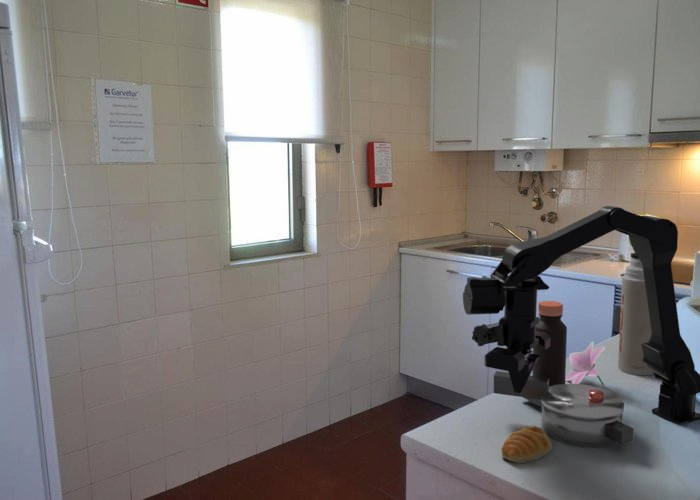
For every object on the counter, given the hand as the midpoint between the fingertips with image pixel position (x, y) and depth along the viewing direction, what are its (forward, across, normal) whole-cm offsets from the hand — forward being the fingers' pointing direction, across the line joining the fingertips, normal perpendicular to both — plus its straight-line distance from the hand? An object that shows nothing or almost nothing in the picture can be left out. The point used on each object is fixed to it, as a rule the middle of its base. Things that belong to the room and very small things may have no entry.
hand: (517, 392), depth 112 cm
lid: (+1, -4, +6) cm, 8 cm away
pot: (+7, -6, +8) cm, 12 cm away
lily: (+6, -28, +5) cm, 29 cm away
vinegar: (+7, -19, 0) cm, 20 cm away
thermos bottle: (+6, -44, +13) cm, 46 cm away
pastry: (+7, +8, +5) cm, 12 cm away
